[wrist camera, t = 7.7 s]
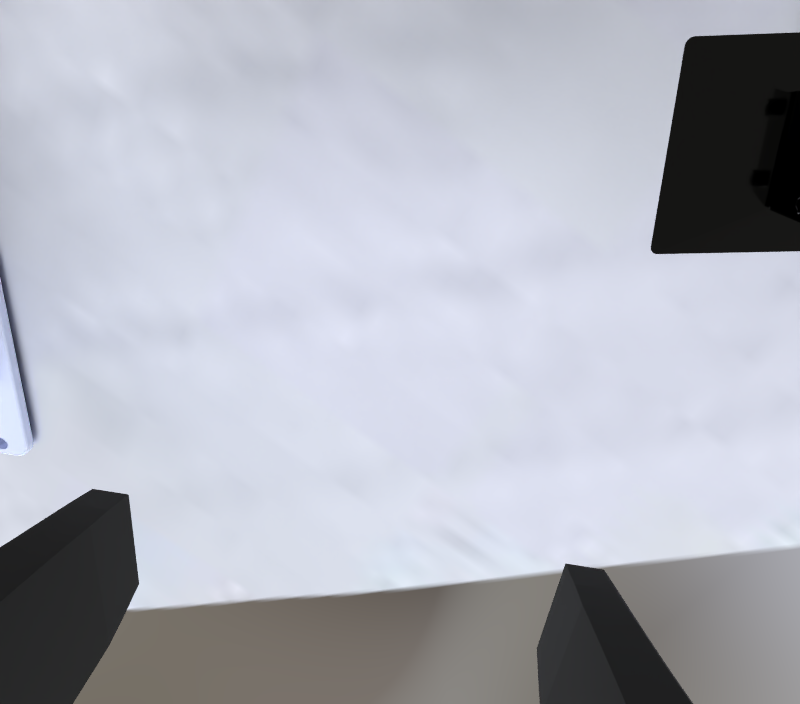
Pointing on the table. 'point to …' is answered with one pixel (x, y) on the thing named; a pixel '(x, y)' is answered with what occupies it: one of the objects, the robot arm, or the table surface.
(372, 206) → the table surface
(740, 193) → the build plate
